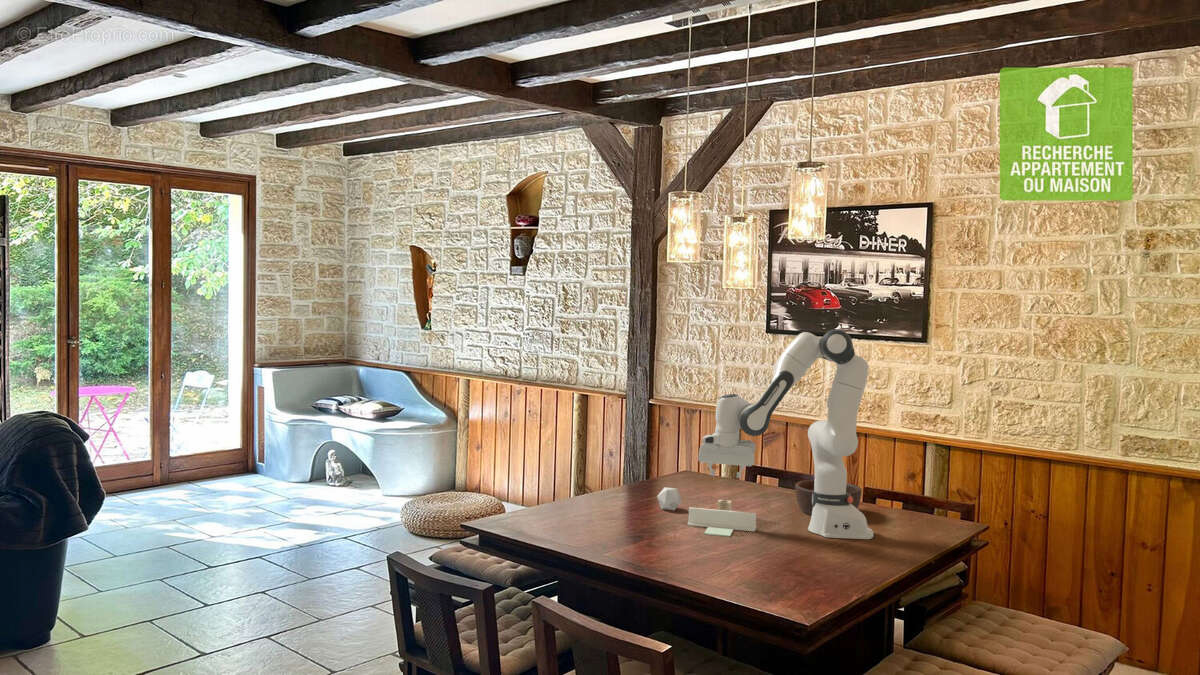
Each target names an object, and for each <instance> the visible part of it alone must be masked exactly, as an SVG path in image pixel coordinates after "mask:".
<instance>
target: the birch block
mask: <svg viewBox="0 0 1200 675" xmlns="http://www.w3.org/2000/svg"><path fill="white" fill-rule="evenodd" d="M732 506H733V504H732V500H730V499H729V500H728V499H718V501H717V510H726V511H732Z"/></svg>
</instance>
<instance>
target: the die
mask: <svg viewBox="0 0 1200 675" xmlns="http://www.w3.org/2000/svg"><path fill="white" fill-rule="evenodd" d="M656 498H657V502H658V503H659V506H660V510H665V511H675V510H676V509H678V507H679V506H680V505H681V503H682V497H681V494H680V492H679V489H678V488H674V487H667V486H666V487H663V489H662V490H661V491H660V492H659V493H658V495H657V496H656Z"/></svg>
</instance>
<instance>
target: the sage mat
mask: <svg viewBox="0 0 1200 675" xmlns="http://www.w3.org/2000/svg"><path fill="white" fill-rule="evenodd" d="M733 532H734V530H733V529H726V528H715V527H706V529H705V531H704V533H703V535H709V536H717V537H718V536H719V537H720V536H721V537H728V538H729V537H731V536H732V534H733Z"/></svg>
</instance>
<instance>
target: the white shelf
mask: <svg viewBox="0 0 1200 675" xmlns="http://www.w3.org/2000/svg"><path fill="white" fill-rule="evenodd" d="M687 526H689V527H690V526H691V527H700V528H708V527H715V528H726V529H733V531H734V530H735V531H744V532H756V530H757V512H746V511H737V510H736V511H735V510H731V511H726V510H718V509H715V508H714V509H713V508H712V509H711V508H705V507H704V508H701V507H699V508H698V507H691V506H689V507H688V522H687Z"/></svg>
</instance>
